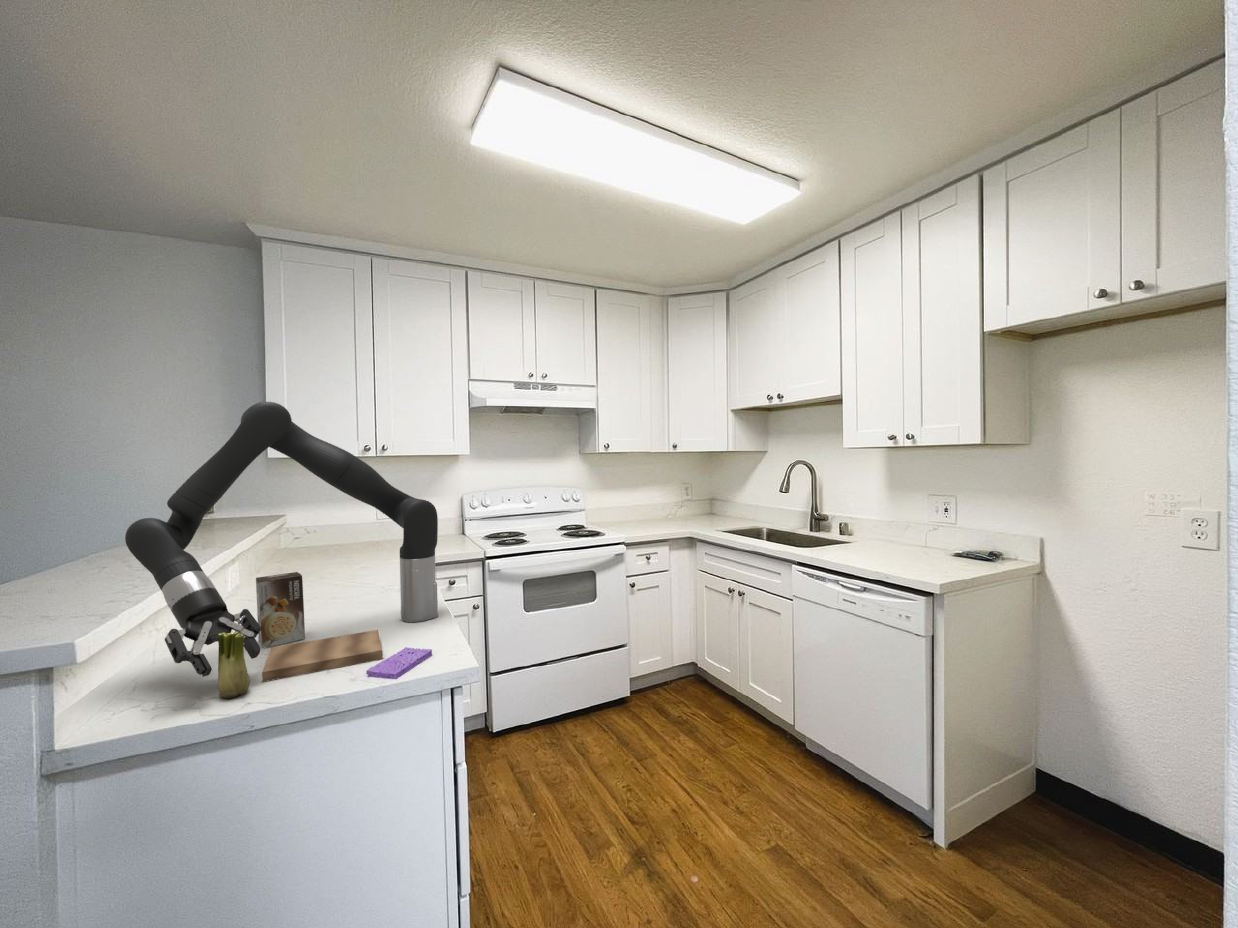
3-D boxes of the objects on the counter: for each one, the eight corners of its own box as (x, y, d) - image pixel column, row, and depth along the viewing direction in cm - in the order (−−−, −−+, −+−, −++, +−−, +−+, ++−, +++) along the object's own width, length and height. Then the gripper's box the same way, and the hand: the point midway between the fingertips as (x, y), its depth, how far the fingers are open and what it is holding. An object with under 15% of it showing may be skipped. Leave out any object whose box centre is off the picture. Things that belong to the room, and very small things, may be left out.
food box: (301, 632, 129) (299, 570, 129) (305, 639, 124) (303, 575, 124) (257, 641, 123) (255, 577, 122) (260, 649, 118) (258, 581, 118)
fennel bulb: (215, 694, 96) (213, 632, 96) (246, 685, 99) (244, 625, 99) (221, 704, 92) (219, 639, 92) (253, 694, 96) (251, 632, 95)
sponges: (432, 657, 113) (432, 649, 113) (395, 682, 101) (394, 673, 101) (405, 654, 115) (405, 646, 115) (365, 678, 103) (365, 669, 103)
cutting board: (378, 637, 124) (378, 629, 124) (382, 658, 111) (382, 649, 111) (271, 655, 114) (271, 647, 114) (262, 681, 101) (262, 672, 101)
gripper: (158, 597, 92) (199, 667, 88) (240, 578, 105) (279, 639, 101) (142, 622, 94) (181, 692, 90) (225, 601, 107) (262, 661, 103)
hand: (233, 664), depth 96 cm, fingers open, 8 cm apart
